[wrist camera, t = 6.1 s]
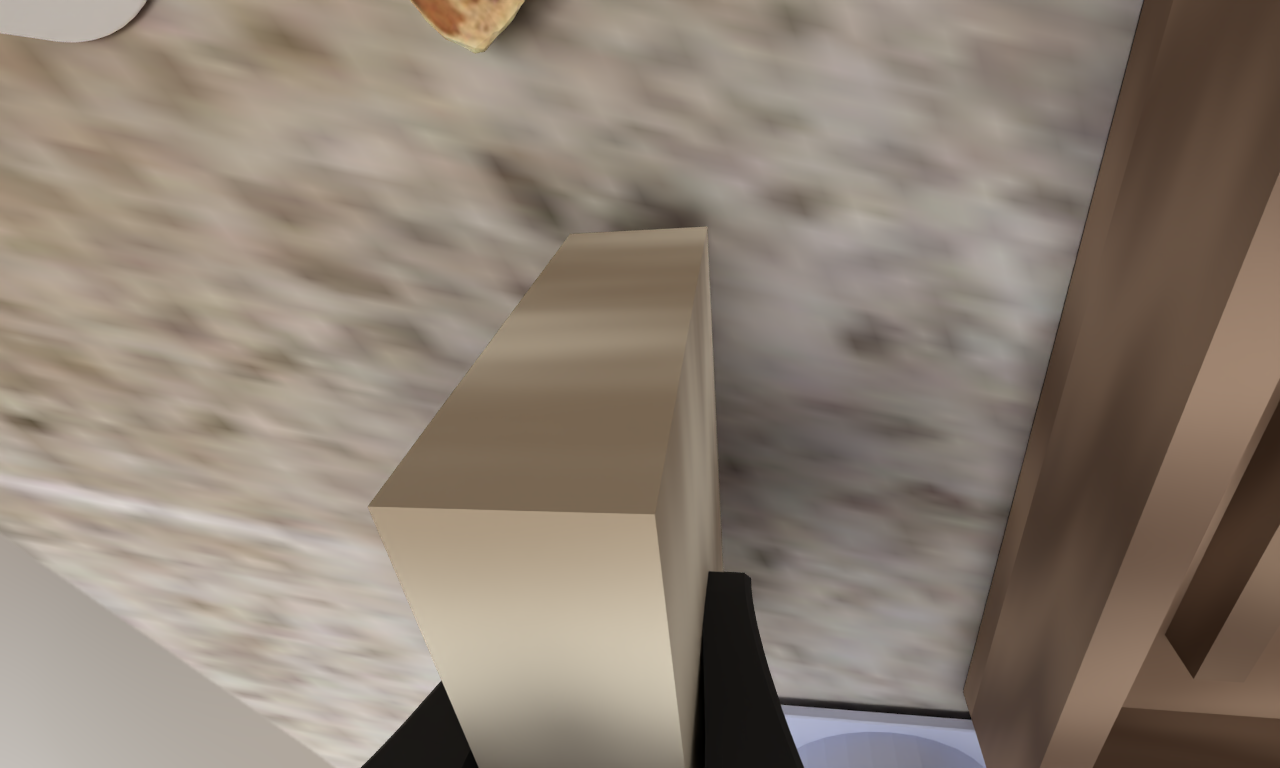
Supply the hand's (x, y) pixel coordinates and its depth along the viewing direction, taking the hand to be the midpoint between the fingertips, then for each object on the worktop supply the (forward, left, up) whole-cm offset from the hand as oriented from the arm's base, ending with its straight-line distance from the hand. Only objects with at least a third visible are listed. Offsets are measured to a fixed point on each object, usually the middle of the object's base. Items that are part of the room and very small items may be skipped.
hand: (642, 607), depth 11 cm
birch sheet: (0, 0, -3) cm, 3 cm away
